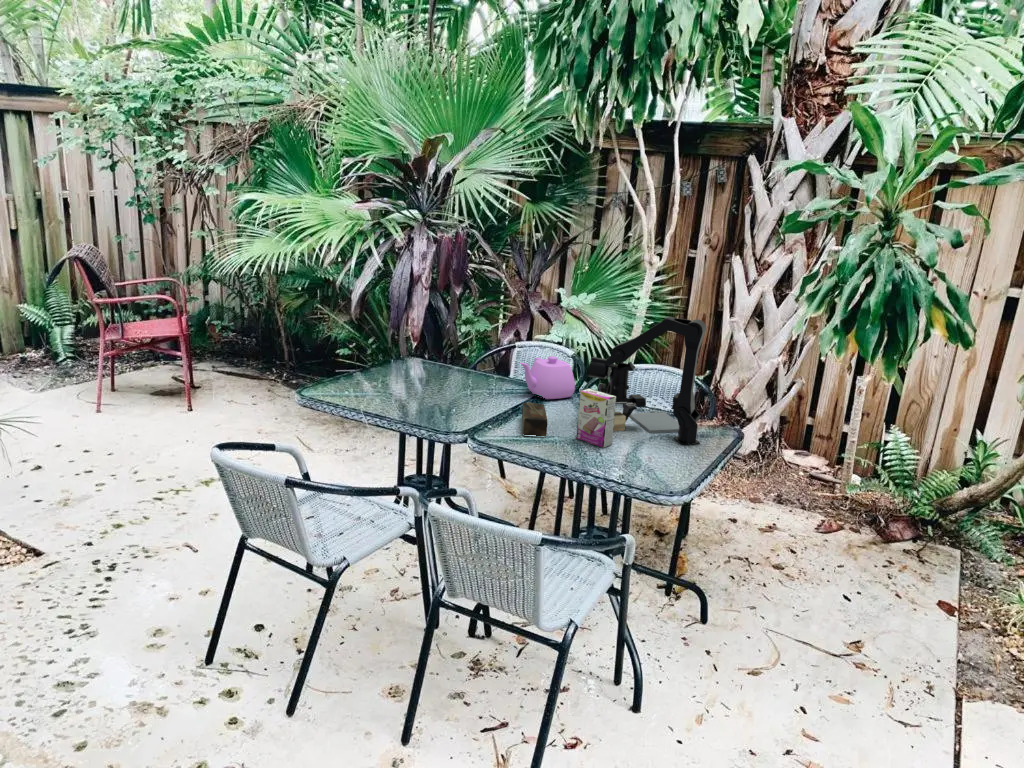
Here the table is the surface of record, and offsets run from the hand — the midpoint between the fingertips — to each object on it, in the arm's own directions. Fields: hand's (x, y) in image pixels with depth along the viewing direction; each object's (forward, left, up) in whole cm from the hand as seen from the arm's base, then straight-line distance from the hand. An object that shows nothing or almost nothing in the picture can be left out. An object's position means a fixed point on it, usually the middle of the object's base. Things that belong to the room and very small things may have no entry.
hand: (615, 425), depth 255 cm
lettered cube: (0, 0, -1) cm, 1 cm away
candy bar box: (-12, +12, -1) cm, 17 cm away
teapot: (+40, +11, -1) cm, 42 cm away
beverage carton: (+4, +28, -2) cm, 28 cm away
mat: (+3, -17, -1) cm, 17 cm away
